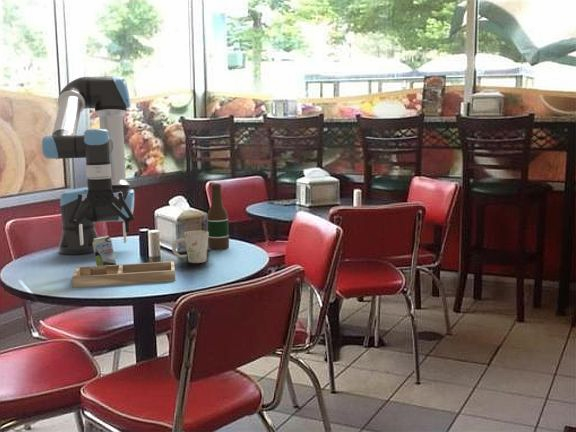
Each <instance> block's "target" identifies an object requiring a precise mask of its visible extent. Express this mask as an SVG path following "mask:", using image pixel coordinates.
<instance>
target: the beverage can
mask: <svg viewBox="0 0 576 432" xmlns="http://www.w3.org/2000/svg"><path fill="white" fill-rule="evenodd" d="M93 240H94V241H93V243H92V244H93V249H94V252H93V254H94V257H95V263H96V266H102V265H103V266H105V265H117V263H116V257H115V252H114V248H113V241H112V239H111V238H110V236H109V235H104V236H98V238H94V239H93Z"/></svg>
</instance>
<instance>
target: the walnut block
mask: <svg viewBox="0 0 576 432" xmlns="http://www.w3.org/2000/svg"><path fill="white" fill-rule="evenodd" d="M105 274H107V269H106V267H104V266H103V265H102V266H97V265H94V267H90V275H105Z"/></svg>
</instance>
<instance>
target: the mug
mask: <svg viewBox="0 0 576 432" xmlns="http://www.w3.org/2000/svg"><path fill="white" fill-rule="evenodd" d="M208 234H209V233H208V230H207V231H206V230H201V229H199V230H189V231H185V232H184V233H183V237H182V238H177V239H176V240H174V242H173V243H172V247H171V250H172V253H173V254H174V255H175V257H177V258H181V259H182V258H187V259H188V260H187V261H188V263H191V264H200V263H201V264H202V263H206V262H207V256H208ZM179 243H184V244H185V248H186V254H180V253H179V252H178V251H177V245H178V244H179Z"/></svg>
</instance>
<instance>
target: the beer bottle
mask: <svg viewBox="0 0 576 432" xmlns="http://www.w3.org/2000/svg"><path fill="white" fill-rule="evenodd" d="M210 187H211V204H210V207H209V209H208V211H207V214H206V225H207V228H206V229H207V231H208V233H209V234H208V246H207V248H208V249H210V250H212V251H221V250H226V249H228V248H229V247H230V233H229V230H230V229H229V215H228V211H227V209H226V208H225V206H224V205H223V204H224V203H223V198H222V197H223V196H222V189H221V188H222V184H221V183H212V184H211V185H210Z"/></svg>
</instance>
